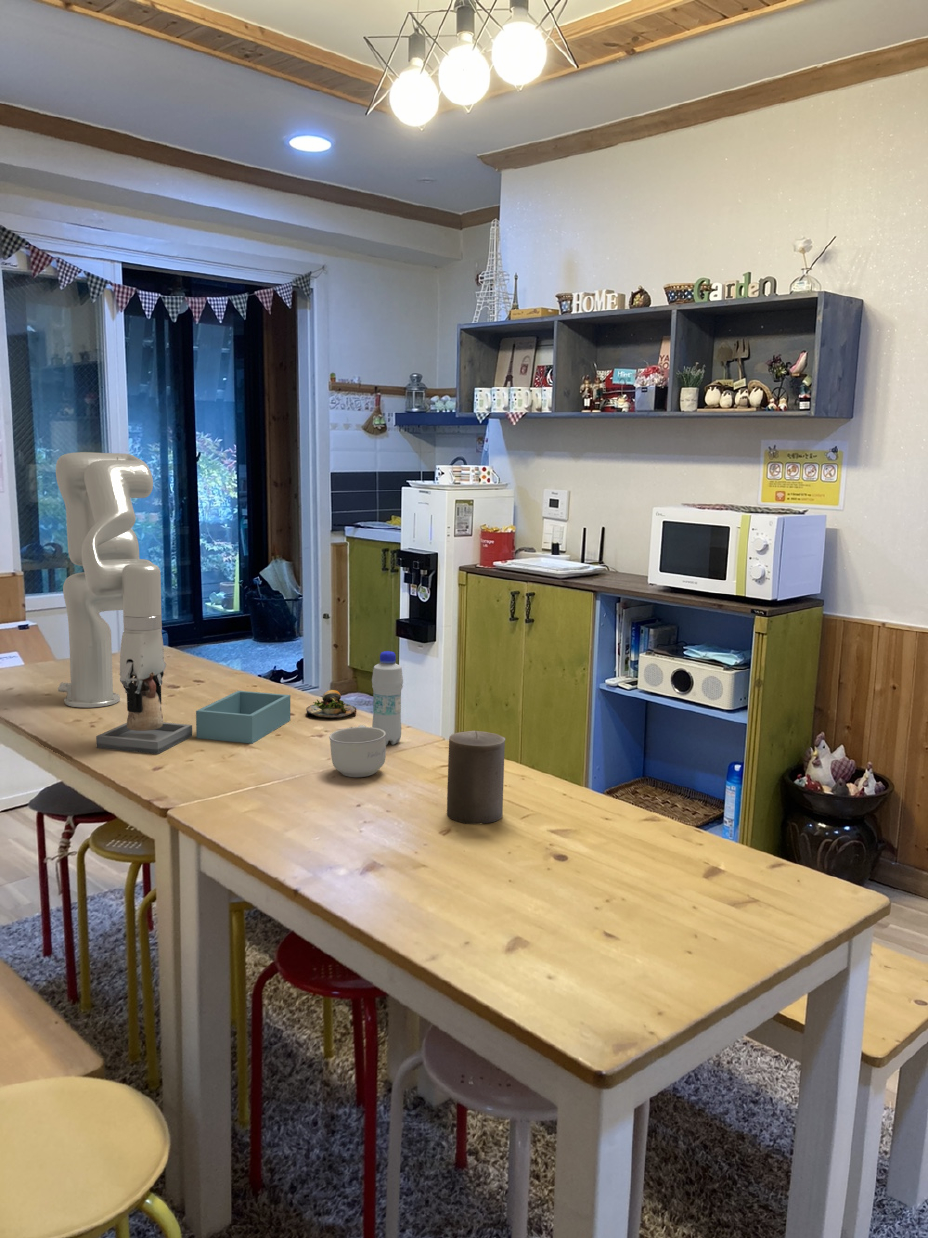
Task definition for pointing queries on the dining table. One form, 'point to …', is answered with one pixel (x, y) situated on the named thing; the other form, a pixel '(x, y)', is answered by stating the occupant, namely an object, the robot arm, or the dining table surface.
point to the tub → (243, 716)
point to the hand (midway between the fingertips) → (144, 707)
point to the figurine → (147, 708)
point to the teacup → (358, 750)
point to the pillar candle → (475, 777)
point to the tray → (144, 738)
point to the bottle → (387, 696)
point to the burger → (331, 706)
